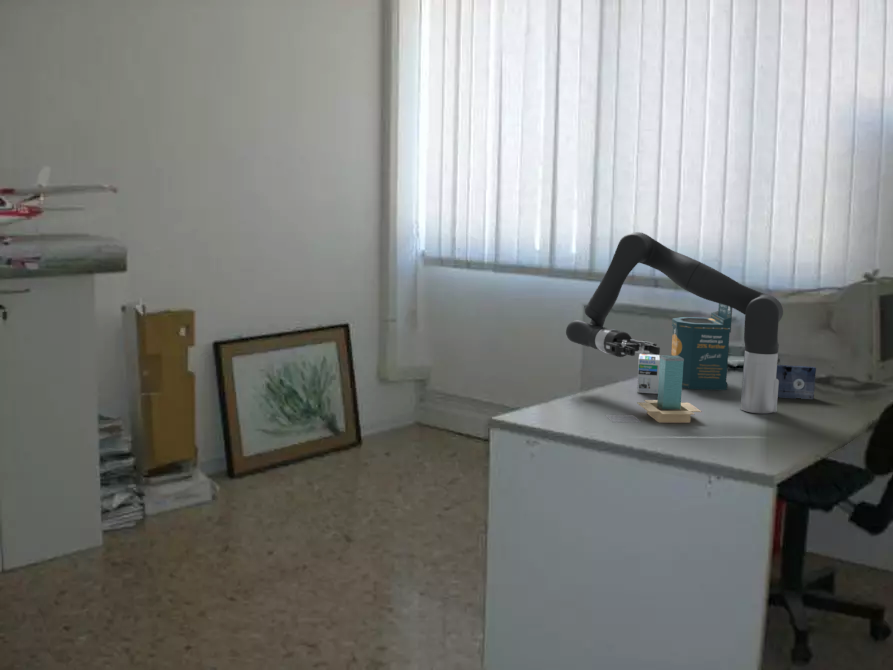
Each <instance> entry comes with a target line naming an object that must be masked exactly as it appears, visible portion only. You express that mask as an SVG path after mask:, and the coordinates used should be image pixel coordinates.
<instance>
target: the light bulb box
mask: <svg viewBox="0 0 893 670" xmlns="http://www.w3.org/2000/svg"><path fill="white" fill-rule="evenodd" d="M637 363H638V365H637V367H638V368H637V387H636V389H637V390H636V393H640V394H653V395H656V394H657V395H658V383H659V366H660V354H659V355H656V354H651V353H646V354H645V353H643V354H641V353H638V362H637Z"/></svg>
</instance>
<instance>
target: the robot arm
mask: <svg viewBox="0 0 893 670" xmlns="http://www.w3.org/2000/svg"><path fill="white" fill-rule="evenodd" d="M638 264H642V265H644V266H647V267H650V268H652V269H655V270H657V271H659V272H660V273H662V274H664V275H665V276H667V278H668V279H670V280H671V281H672V282H673V283H675V284H676V285H677V286H678V287H680V288H681V289H683V290H684V291H686V292H688V293H690V294H693V295H694V296H697V297H698V298H701V299H703V300H707V301H710V302H713V303H716V304H719V303H720V304H723V305H726V306H729V307H732V309H734V310H735V311H738V312H739V313H742V314H743V315H744V327H743V328H744V331H743V333H744V334H743V342H744V354H743V355H744V356H743V367H742V369H743V371H742V381H741V395H740V397H741V399H740V410H741V411H742V412H743V411H744V412H747V413H753V414H771V413H777V409H778V408H777V407H778V385H779V380H778V379H776V373H777V365H778V358H779V357H778V356H779V340H778V336H779V322H780V321H781V319H782V318H783V315H784V309H783V308H784V307H783V305H782V303H781V302H780V301H779V299H777V297H774V296H772V295H769V294H767V293H764V292H761V291H758V290H756V289H754V288H751V287H748V286H745V285H743V284H741V283H740V282H738V281H736V280H735V279H733V278H731V277H730V276H728V275H726V274H724V273H722V272H721V271H719V270H716V269H715V268H713V267H711V266H710V265H707V264H705V263H703V262H701V261H699V260H696V259H695V258H692V257H691V256H687V255H685V254H683V253H680V252H677V251H675V250H672V249H670V248H669V247H667V246H666V245H664V244H662V243H660V242H659V241H657V240H656V239H654V238H653V237H651V236H650V235H648V234H646V233H644V232H640V231H639V232H638V231H637V232H630V233H627V234H626V235H623V236H622V237H621V239H620V240H619V242H618V244H617V247H616V249H615V252H614V254H613V257H612V259H611V261H610V263H609V265H608V268H607V270H606V272H605V274H604V276H603V278H602V280H601V281H600V283H599V285H597V288H596V289H595V291H594V293H593V294H592V296H591V298H590V300H589V301H588V303H587V305H586V306H585V307H584V314H585V315H586V316H587V317H588V318H589V319H590V322H585V321H583V320H580V319H575V320H573V321H571V322H570V323H568V324H567V326H566V329H565V335H566V336H567V339H568V340H569V341H571V342H572V343H575V344H577V345H580V346H585V347H587V348H592V349H595V350H597V351H601V352H603V353H605V354H607V355H611V356H614V357H617V358H624V357H626V356H631V357H635V356H636V355H635V354H645V353H646V354H651V355H660V352H661V348H660V346H657V345H658V344H657V343H656V342H651V341H647V340H636V339H633V338H632V337H631V335H630V334H629V333H628V332H625V331H622V330H618V329H614V328H607V327H604V324H605V321H606V319H607V316H608V315H609V313H610V312H611V310H612V309H613V307H614V305H615V303H616V302H617V300H618V297H619V295H620V292H621V289H622V287H623V285H624V283H625V281H626V279H627V278H628V276H629V275H630V273H631V272H632V271H633V270H634V269H635V267H636V266H637V265H638Z"/></svg>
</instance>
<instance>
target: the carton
mask: <svg viewBox="0 0 893 670" xmlns="http://www.w3.org/2000/svg"><path fill="white" fill-rule="evenodd" d="M657 400H658V399H644V402H643V401H642V402H636V403H637V405H638V406H640V407H641V408H642V409H644V410H645V411H646V414H647V415H649V416H650V417H651V418H652V419H653V420H655V421H656V422H657V423H668V424H669V423H672V424H673V423H677V424H679V423H682V424H683V423H691V416H692V415H695V413H702V410H700V409H699V408H697V407H696V406H695V405H693V404H692V403H690V402H681V411H660V410H658V409H657Z"/></svg>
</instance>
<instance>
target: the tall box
mask: <svg viewBox="0 0 893 670" xmlns="http://www.w3.org/2000/svg"><path fill="white" fill-rule="evenodd" d="M659 355H660V354H659ZM683 362H684V359H683V358H682V357H680V356H673V355H671V354H670V355H666V354H665V355H663V354H662V355H660V366H659V383H658V394H657V399H656V400H657V409H658V410H660V411H681V403H682V392H683V388H682V378H683Z"/></svg>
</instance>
